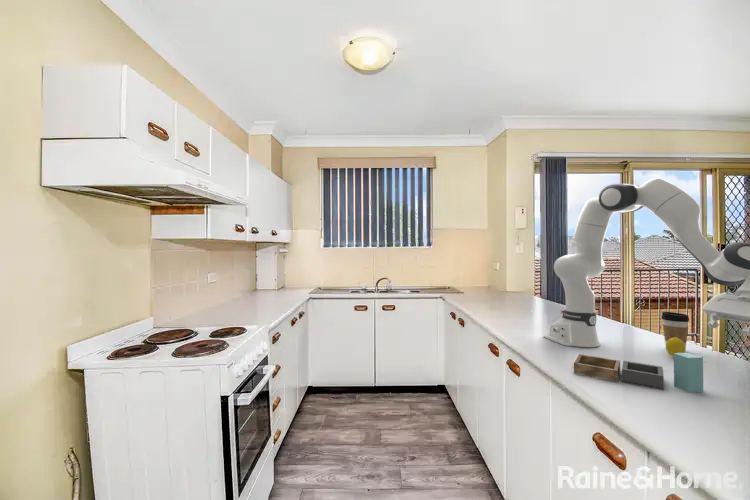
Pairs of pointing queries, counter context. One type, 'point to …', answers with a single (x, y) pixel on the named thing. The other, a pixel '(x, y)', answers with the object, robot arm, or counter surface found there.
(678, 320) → the coffee cup
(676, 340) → the lemon
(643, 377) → the box
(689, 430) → the counter surface
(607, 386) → the counter surface
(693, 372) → the teal block
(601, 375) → the walled bay
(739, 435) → the counter surface
